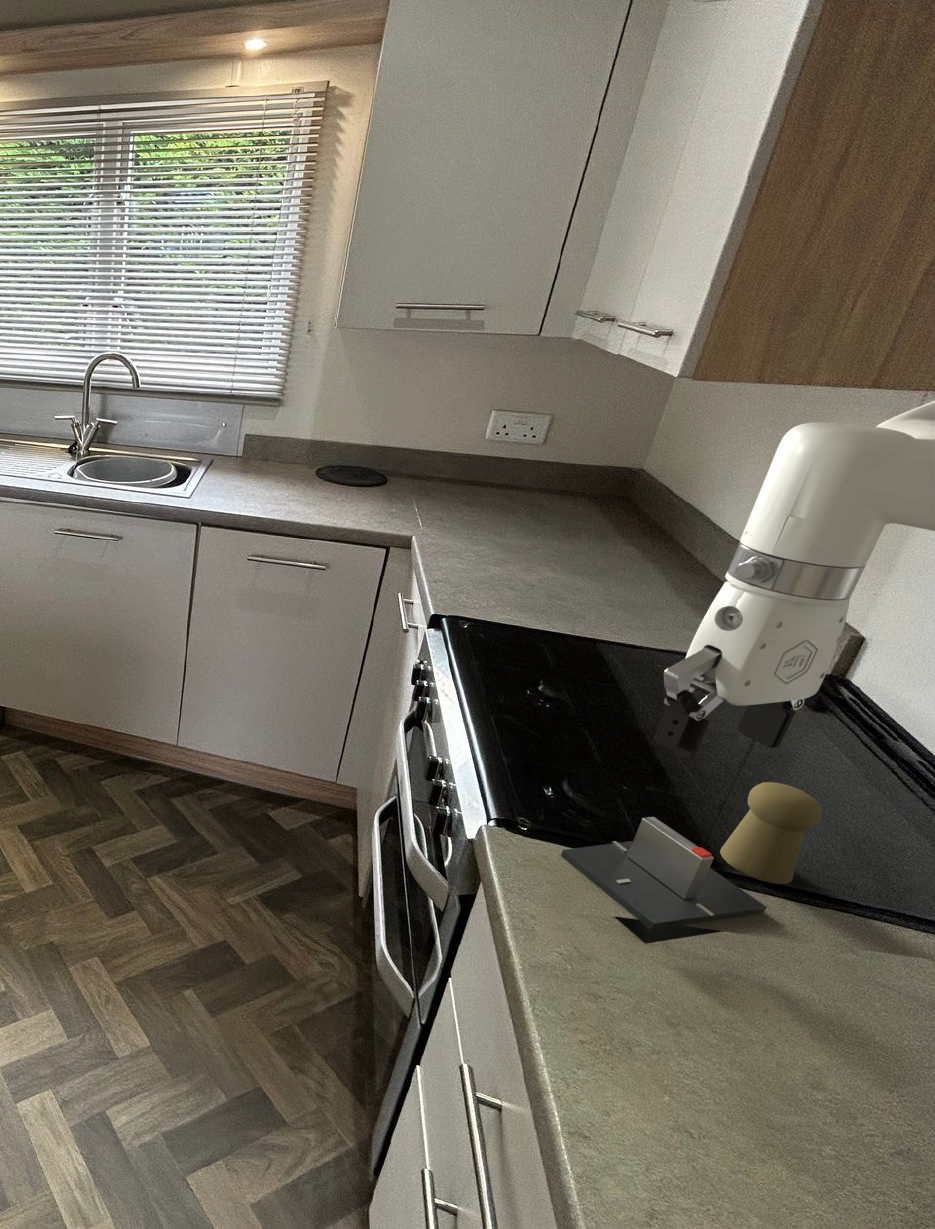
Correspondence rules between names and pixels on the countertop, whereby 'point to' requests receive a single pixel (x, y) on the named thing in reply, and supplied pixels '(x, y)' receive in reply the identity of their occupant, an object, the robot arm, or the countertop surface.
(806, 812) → the cork
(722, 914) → the plate
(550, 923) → the countertop surface
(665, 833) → the tap handle
